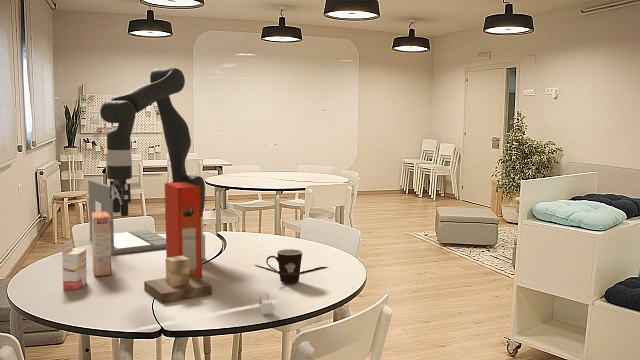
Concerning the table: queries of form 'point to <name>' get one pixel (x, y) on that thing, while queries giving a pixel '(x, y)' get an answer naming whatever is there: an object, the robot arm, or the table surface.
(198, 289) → the walnut base
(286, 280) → the coffee mug
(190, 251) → the file binder
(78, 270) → the ink cartridge box
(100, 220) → the cracker box
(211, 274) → the table surface
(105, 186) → the laptop
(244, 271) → the table surface
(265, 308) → the game pieces
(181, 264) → the oak block
